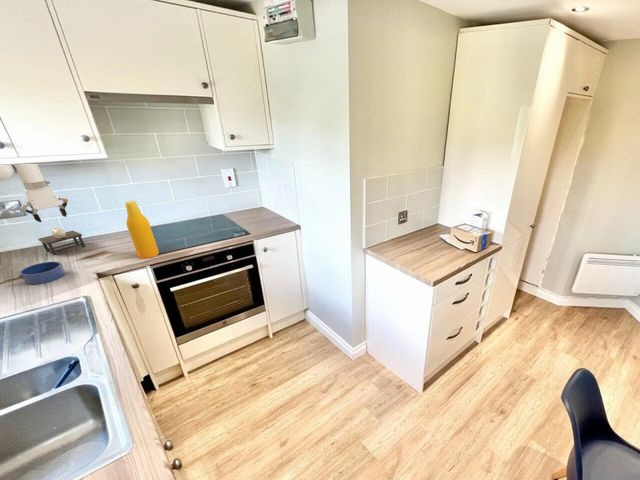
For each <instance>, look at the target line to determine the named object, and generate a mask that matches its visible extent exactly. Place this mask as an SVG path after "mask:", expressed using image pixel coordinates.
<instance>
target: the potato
mask: <svg viewBox="0 0 640 480" xmlns="http://www.w3.org/2000/svg"><path fill="white" fill-rule="evenodd" d="M66 232H67V231H66V230H64V229H63V228H60V227H53V228H52V229H51V230H50V233H51V236H52V235H54V237H57V238H62V237H66Z"/></svg>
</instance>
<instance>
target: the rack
mask: <svg viewBox="0 0 640 480" xmlns="http://www.w3.org/2000/svg"><path fill="white" fill-rule="evenodd" d="M65 232H66V237H62V238H57V237H54V235H52V234H51V235H47V236H43V237H41V238H37V240H38V241H39V242H41V244H42V246H43V248H44V250H45V252H46V253H48V252H49V253H50V254H52V255H53V256H57V252H60V251H64V250H68V249H72V248H75V247H79V246H82V248H86V244H85V242H84V240H83V238H82V237H83V234H82V233H79V232H77V231H74V230H69V231H65ZM77 238H78V239H77ZM72 239H73V241H70V242H68V243H63V244H60V245H59V244H58V245H55V246H53V245H52V244H56V243H61V242H64V241H68V240H72Z"/></svg>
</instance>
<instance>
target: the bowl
mask: <svg viewBox="0 0 640 480" xmlns="http://www.w3.org/2000/svg"><path fill="white" fill-rule="evenodd" d="M65 274H66V270H65V268H64V266H63V264H62V262H60V261H45V262H38V263H35V264H32V265H29V266H27V267H24V268H22V269H21V270H19V275H20V277H21V278H22V280H23V282H24V283H25V284H30V285H40V284H41V283H42V284H46V282H47V283H50V282H52V281H55V280H56V281H57V280H58V279H60V278H62V277H63V276H64V275H65ZM61 276H62V277H61Z"/></svg>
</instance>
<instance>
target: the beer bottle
mask: <svg viewBox="0 0 640 480" xmlns="http://www.w3.org/2000/svg"><path fill="white" fill-rule="evenodd" d="M124 205H125V209H126V214H127V217H126V223H125V224H126V227H127V230H128V232H129V235H130V238H131V241H132V244H133V246H134V249H135V251H136V254H137V257H138V258H139V259H151V258H154V257H157V256H158V255H159V254H160V251H159V247H158V244H157V242H156V239H155V237H154V233H153V230H152V228H151V224H150V221H149V220H148V219H147V217H146V216H145V215H144V214H143V213H142V211H141V210H140V208H139V206H138V203H137V202H136V201H134V200H130V201H126V202H124Z"/></svg>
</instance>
